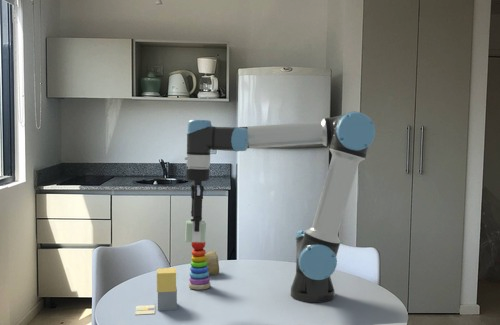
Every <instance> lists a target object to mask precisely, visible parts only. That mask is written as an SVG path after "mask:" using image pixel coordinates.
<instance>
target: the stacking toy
mask: <svg viewBox="0 0 500 325" xmlns="http://www.w3.org/2000/svg"><path fill="white" fill-rule="evenodd" d="M190 244H191V246H192V251H191V255H192V256H191V262H190V269H189V270H190V272H189V279H188V280H189V283H188V286H189V288H190V289H191V290H196V291H201V290H207V289H209V288H210V287H211V282H210V281H211V278H210V275H209V272H208V266H207V261H206V259H207V257H206V256H205V253H207V252H206V250H205V249H204V248H206V247H205V246H206V241H205V242H190Z"/></svg>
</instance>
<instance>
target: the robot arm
mask: <svg viewBox="0 0 500 325" xmlns="http://www.w3.org/2000/svg"><path fill="white" fill-rule="evenodd" d="M375 136H376V127H375V124H374V122H373V120H372V119H371V117H370V116H368V115H366V114H365V113H363V112H361V111H360V112H359V111H348V112H347V113H344V114H340V115H338V116H337V115H336V116H333V117H324V118H322V119H321V121H307V122H306V121H305V122H294V123H293V122H292V123H281V124H279V123H277V124H266V125H264V124H263V125H253V126H239V127H238V126H237V127H235V126H233V127H231V126H229V127H228V126H213V125H212V121H211V120H208V119H190V120H188V123H187V133H186V156H185V157H184V161H186V169H185V180H187V181H192V184H191V185H190V193H191V194H190V197H191V211H190V214H191V215H190V216H191V217H190V218H191V219H190V220H191V221H193V222H192V242H201V221H203V199H204V191H205V190H204V189H205V186H204V185H202V184H203V183H202V182H207V181H210V169H209V168H210V167H211V151H230V152H246V151H247V150H248V149H258V148H272V147H273V148H275V147H289V146H306V145H321V144H322V145H323V146H324V147H329V149H328V150H329V152H330V153H331V159H330V163H329V165H328V168H327V173H326V176H325V179H324V183H323V187H322V190H321V193H320V197H319V200H318V203H317V206H316V211H315V214H314V218H313V222H312V225H311V227H310V228H308V229H300V230H298V231H297V232H296V237H295V240H296V241H295V242H296V244H295V245H296V249H295V251H296V252H295V253H296V255H295V257H296V258H295V259H296V260H295V275H294V279H293V281H292V285H291V287H290V296H291V297H292V298H293V299H295V300H298V301H301V302H305V303H306V302H307V303H323V302H324V303H325V302H329V301H332V300H333V299H335V287H334V285H333V281H332V278H331V276H332V275H333V274H334V273H335V271H336V268H337V265H338V264H337V263H338V260H337V258H338V257H337V254H338V252H339V248H340V245H341V239H340V238H339V235H338V234H339V231H340V227H341V225H342V221H343V217H344V215H345V211H346V207H347V204H348V200H349V197H350V194H351V191H352V187H353V184H354V180H355V178H356V174H357V171H358V167H359V164H360V163H361V162H363V161H365V159H366V157H367V154H368V150H369V147H370V146H371V144H372V143H373V141H374V140H375ZM192 242H191V243H192Z"/></svg>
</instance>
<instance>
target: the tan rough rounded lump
mask: <svg viewBox="0 0 500 325" xmlns="http://www.w3.org/2000/svg"><path fill="white" fill-rule="evenodd" d="M205 256H206V257H207V259H206V261H207V266H208V272H209V276H212V275H213V276H214V275H220V265H219V264H220V263H219V262H220V260H219V257H218V254H217V251H216V250H211V251H209V252H206V253H205Z"/></svg>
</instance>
